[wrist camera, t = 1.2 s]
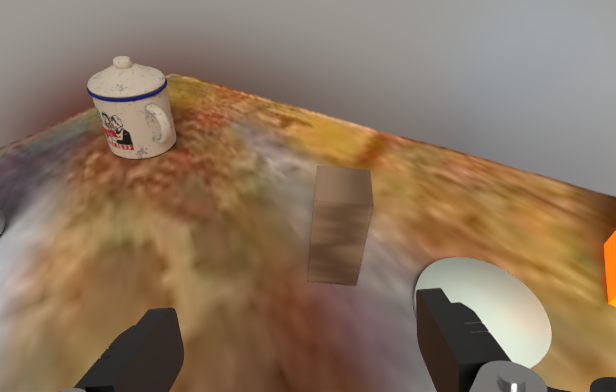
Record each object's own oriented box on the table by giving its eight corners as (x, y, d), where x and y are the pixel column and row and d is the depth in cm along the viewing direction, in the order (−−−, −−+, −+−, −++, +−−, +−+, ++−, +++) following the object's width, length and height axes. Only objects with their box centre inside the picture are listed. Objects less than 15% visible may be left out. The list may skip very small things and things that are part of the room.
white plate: (388, 287, 34) (391, 279, 33) (475, 251, 38) (479, 243, 37) (477, 402, 27) (483, 395, 26) (573, 343, 31) (581, 335, 30)
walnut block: (307, 281, 34) (314, 199, 28) (310, 245, 38) (317, 165, 31) (355, 285, 34) (373, 204, 28) (354, 249, 38) (370, 170, 31)
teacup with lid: (95, 142, 50) (63, 56, 43) (155, 120, 56) (136, 40, 48) (143, 180, 45) (115, 88, 37) (204, 151, 50) (191, 66, 43)
